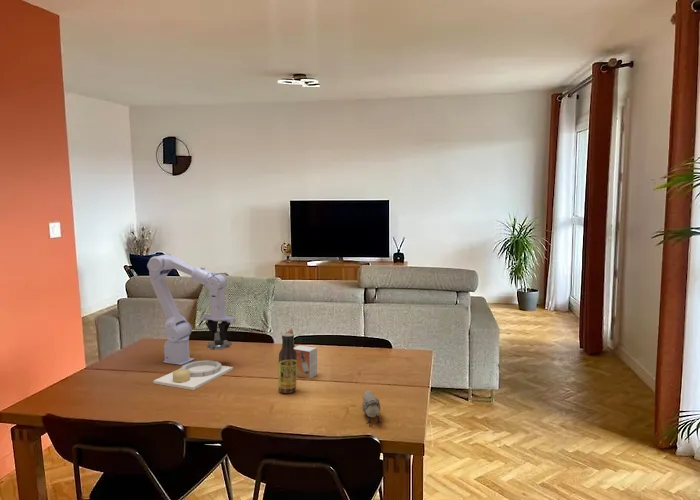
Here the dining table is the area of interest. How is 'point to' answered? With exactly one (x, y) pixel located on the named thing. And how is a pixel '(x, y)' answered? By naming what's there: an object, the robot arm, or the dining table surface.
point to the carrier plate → (193, 379)
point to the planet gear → (218, 342)
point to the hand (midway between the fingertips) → (218, 339)
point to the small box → (306, 361)
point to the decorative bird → (371, 406)
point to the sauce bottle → (287, 365)
